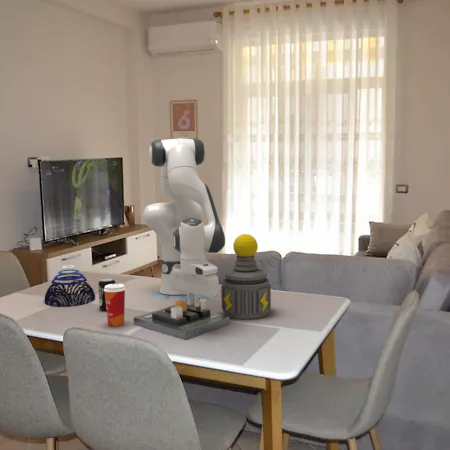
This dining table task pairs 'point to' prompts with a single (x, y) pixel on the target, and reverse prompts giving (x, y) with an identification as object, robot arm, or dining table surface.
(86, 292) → the decorative bowl
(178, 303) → the block
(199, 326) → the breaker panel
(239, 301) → the decorative lamp
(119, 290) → the paper cup
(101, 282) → the beverage can
